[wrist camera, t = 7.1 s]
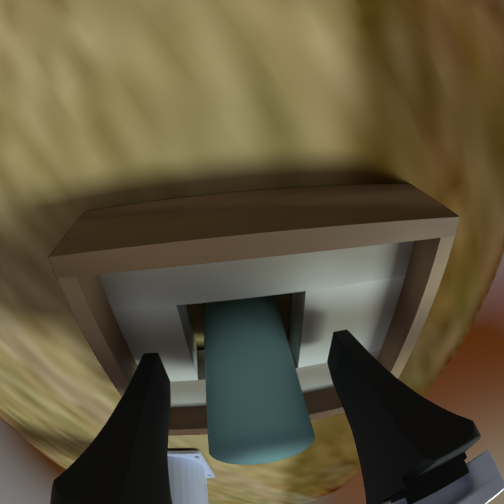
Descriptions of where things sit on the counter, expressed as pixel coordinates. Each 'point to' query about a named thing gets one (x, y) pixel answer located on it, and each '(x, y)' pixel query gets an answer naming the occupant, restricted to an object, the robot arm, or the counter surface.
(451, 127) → the counter surface
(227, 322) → the peg
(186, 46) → the counter surface
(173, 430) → the box
